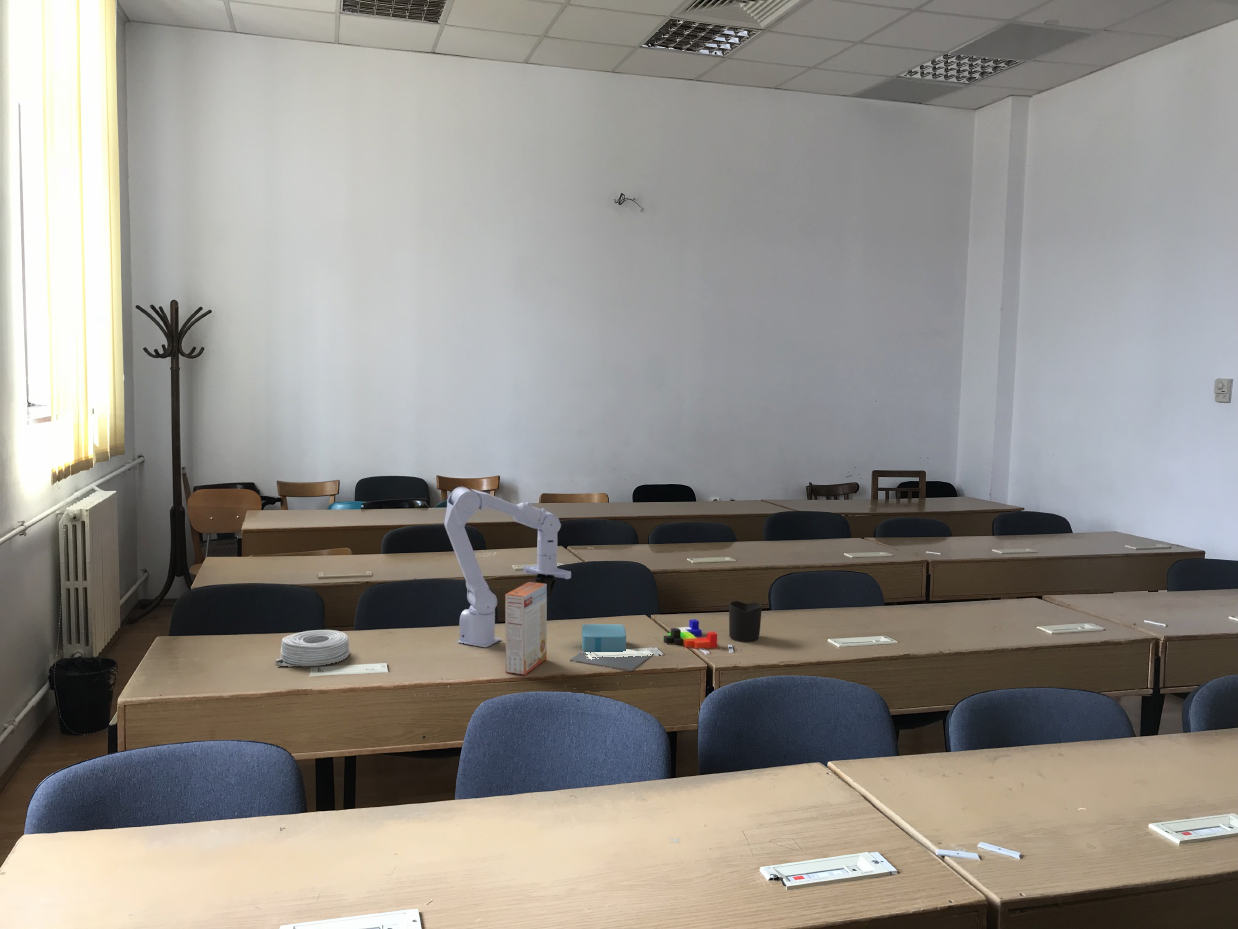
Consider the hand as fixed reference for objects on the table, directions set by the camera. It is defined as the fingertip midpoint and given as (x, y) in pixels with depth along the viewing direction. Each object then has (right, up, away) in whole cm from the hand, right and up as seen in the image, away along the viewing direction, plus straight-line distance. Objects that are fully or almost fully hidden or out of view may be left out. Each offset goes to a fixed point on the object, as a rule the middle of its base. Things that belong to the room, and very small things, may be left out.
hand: (546, 600), depth 272 cm
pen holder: (+57, -12, +4) cm, 59 cm away
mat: (+19, -13, -17) cm, 29 cm away
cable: (-59, -12, -22) cm, 65 cm away
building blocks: (+40, -12, -1) cm, 42 cm away
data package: (+10, -9, -9) cm, 16 cm away
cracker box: (-3, -14, -25) cm, 29 cm away
